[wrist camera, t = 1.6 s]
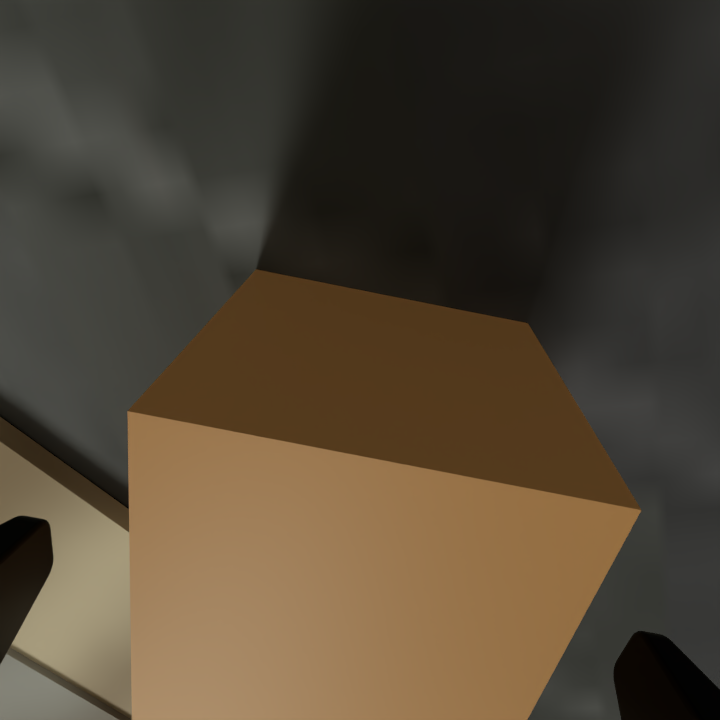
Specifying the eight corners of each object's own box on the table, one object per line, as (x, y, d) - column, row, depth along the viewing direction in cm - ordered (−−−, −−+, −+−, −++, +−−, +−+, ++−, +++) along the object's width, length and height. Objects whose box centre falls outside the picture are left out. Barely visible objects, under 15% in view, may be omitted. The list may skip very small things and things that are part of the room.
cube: (235, 484, 14) (131, 720, 9) (256, 268, 11) (127, 411, 6) (455, 526, 14) (490, 785, 9) (527, 321, 11) (641, 510, 6)
